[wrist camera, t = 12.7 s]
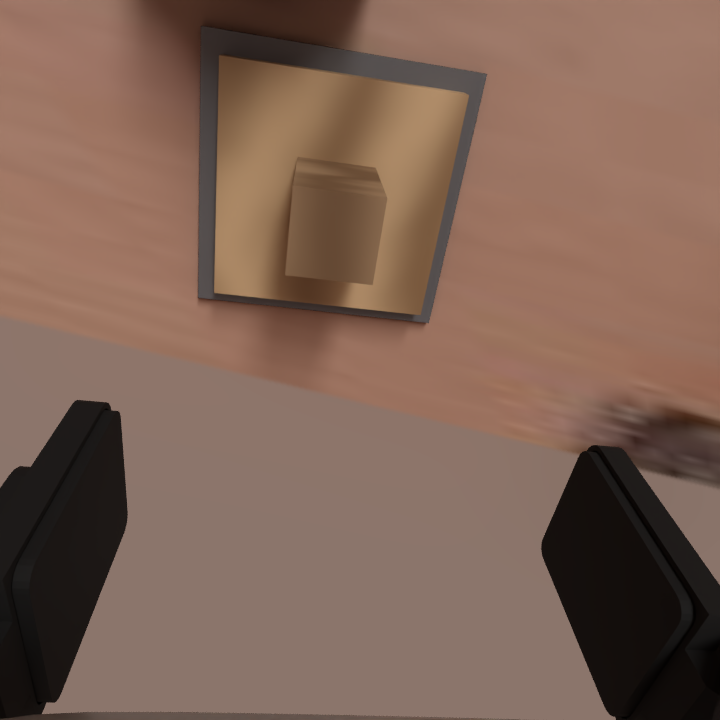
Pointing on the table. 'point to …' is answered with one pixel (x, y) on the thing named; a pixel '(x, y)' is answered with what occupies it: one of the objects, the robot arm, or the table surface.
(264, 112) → the oak lid
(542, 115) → the table surface
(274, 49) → the charcoal mat
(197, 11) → the table surface
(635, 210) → the table surface
